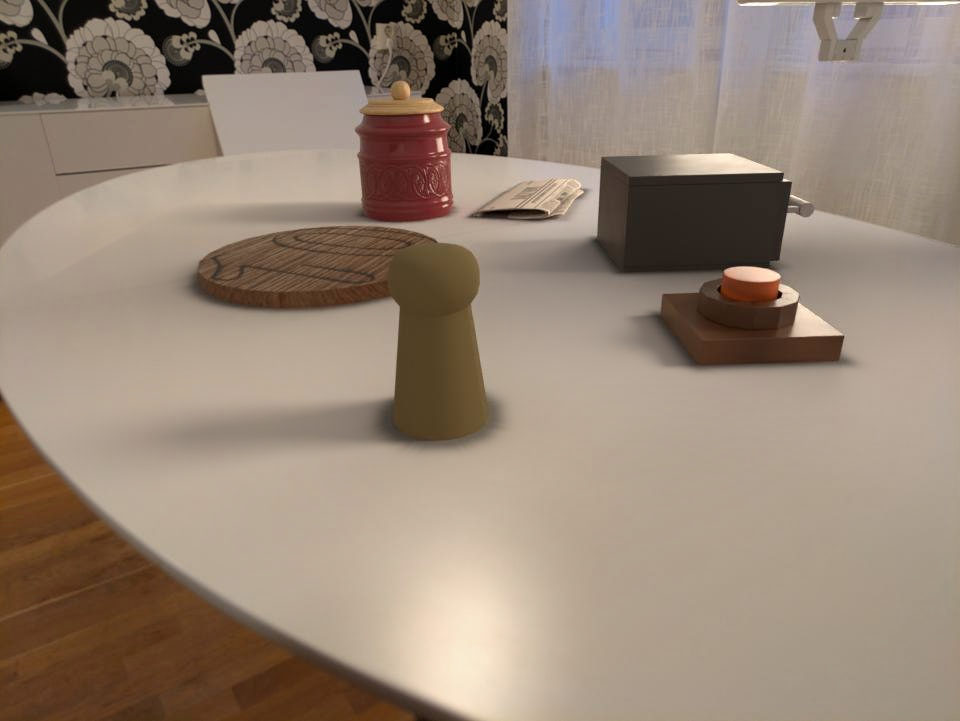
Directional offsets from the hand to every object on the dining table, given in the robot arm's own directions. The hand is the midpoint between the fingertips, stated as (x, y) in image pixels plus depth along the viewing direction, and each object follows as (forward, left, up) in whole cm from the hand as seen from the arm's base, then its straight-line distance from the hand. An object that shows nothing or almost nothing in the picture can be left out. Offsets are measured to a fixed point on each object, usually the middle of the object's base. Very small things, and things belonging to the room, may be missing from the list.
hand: (837, 61), depth 61 cm
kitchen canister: (+42, -30, -20) cm, 56 cm away
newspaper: (+23, -34, -20) cm, 46 cm away
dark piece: (+8, -5, -18) cm, 21 cm away
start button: (+13, +19, -16) cm, 28 cm away
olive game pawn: (+36, +30, -20) cm, 51 cm away
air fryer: (+11, -5, -19) cm, 23 cm away
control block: (+13, +19, -19) cm, 30 cm away
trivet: (+49, -3, -20) cm, 53 cm away
